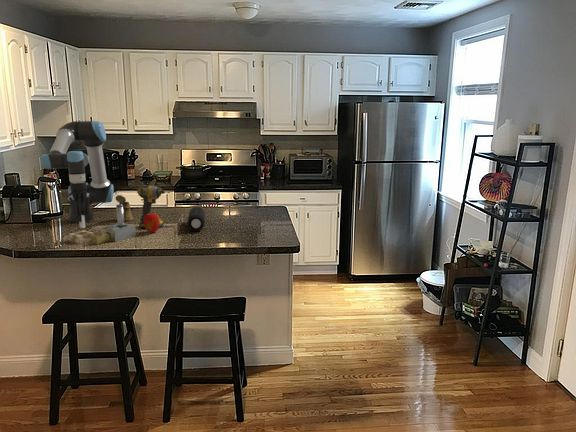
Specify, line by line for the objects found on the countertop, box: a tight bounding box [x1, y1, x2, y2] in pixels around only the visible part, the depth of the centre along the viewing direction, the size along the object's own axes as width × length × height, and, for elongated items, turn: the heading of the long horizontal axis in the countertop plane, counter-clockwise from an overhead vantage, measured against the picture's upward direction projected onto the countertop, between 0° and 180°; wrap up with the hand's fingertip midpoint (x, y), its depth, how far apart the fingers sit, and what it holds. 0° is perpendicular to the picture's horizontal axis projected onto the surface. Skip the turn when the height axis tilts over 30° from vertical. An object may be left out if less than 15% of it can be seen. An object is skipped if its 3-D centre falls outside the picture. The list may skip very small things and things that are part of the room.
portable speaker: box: [187, 206, 206, 232], centre depth 288 cm, size 26×10×10 cm, turn 9°
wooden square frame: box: [68, 229, 95, 245], centre depth 261 cm, size 9×9×4 cm
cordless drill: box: [136, 184, 171, 229], centre depth 285 cm, size 9×20×25 cm, turn 78°
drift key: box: [91, 233, 111, 245], centre depth 258 cm, size 4×10×4 cm, turn 148°
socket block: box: [101, 222, 137, 242], centre depth 267 cm, size 11×14×6 cm
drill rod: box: [115, 204, 126, 228], centre depth 267 cm, size 4×4×18 cm
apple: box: [143, 212, 160, 234], centre depth 276 cm, size 9×9×12 cm
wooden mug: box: [115, 194, 133, 222], centre depth 300 cm, size 9×14×18 cm, turn 2°
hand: (82, 227), depth 246 cm, fingers closed
